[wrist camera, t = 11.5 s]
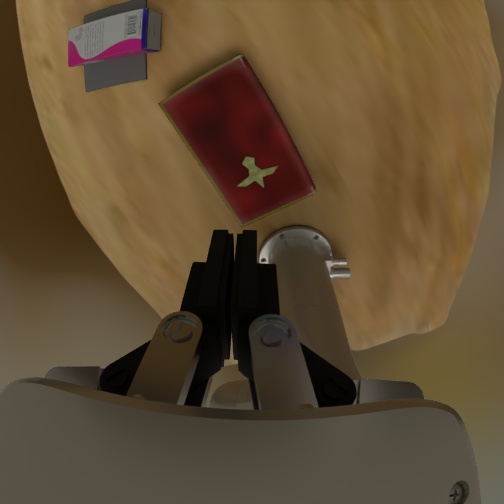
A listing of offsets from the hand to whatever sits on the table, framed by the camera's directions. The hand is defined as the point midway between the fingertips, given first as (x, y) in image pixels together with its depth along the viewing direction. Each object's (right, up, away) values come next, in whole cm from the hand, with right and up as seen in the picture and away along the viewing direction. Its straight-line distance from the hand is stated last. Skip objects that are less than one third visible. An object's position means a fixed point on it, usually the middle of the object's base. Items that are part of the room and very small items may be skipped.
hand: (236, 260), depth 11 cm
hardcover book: (-1, +16, +25) cm, 30 cm away
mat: (-18, +29, +15) cm, 37 cm away
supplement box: (-11, +27, +12) cm, 31 cm away
